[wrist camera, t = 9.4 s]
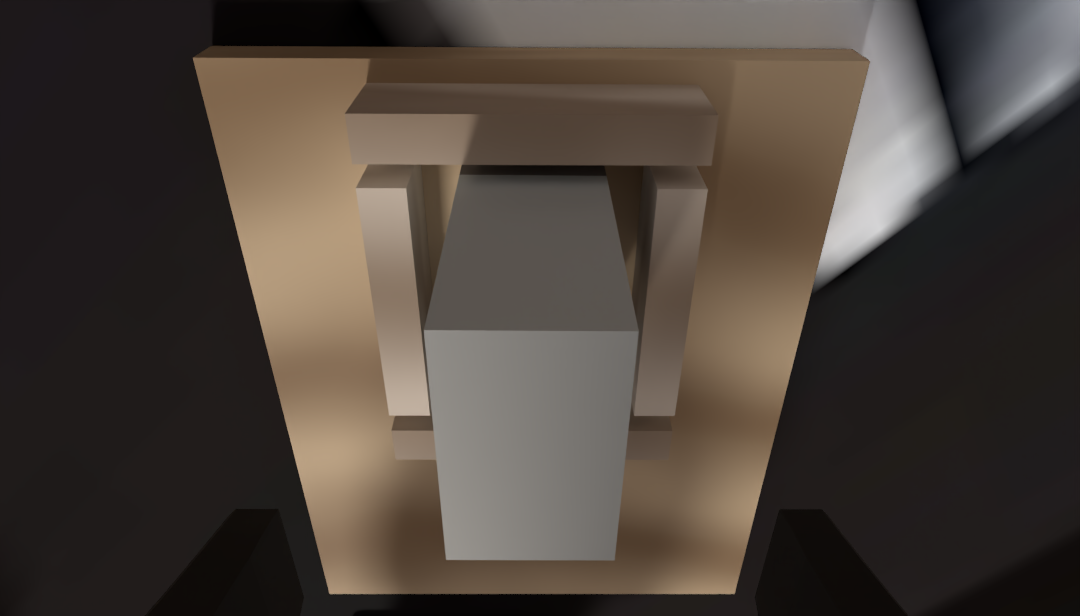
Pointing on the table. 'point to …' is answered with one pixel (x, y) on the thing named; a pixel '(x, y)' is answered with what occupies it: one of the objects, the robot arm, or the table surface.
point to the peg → (531, 365)
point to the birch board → (416, 245)
